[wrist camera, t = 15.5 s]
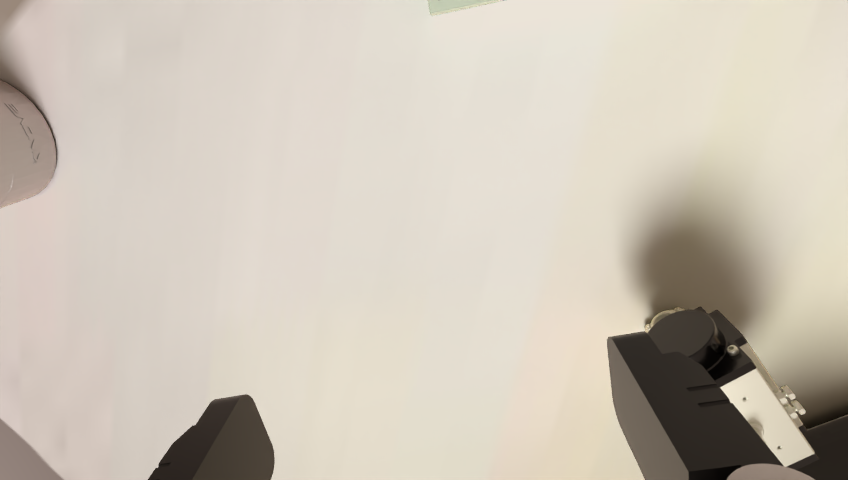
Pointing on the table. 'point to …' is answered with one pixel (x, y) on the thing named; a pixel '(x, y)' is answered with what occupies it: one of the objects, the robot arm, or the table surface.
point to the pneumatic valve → (737, 378)
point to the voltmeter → (828, 450)
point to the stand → (455, 5)
